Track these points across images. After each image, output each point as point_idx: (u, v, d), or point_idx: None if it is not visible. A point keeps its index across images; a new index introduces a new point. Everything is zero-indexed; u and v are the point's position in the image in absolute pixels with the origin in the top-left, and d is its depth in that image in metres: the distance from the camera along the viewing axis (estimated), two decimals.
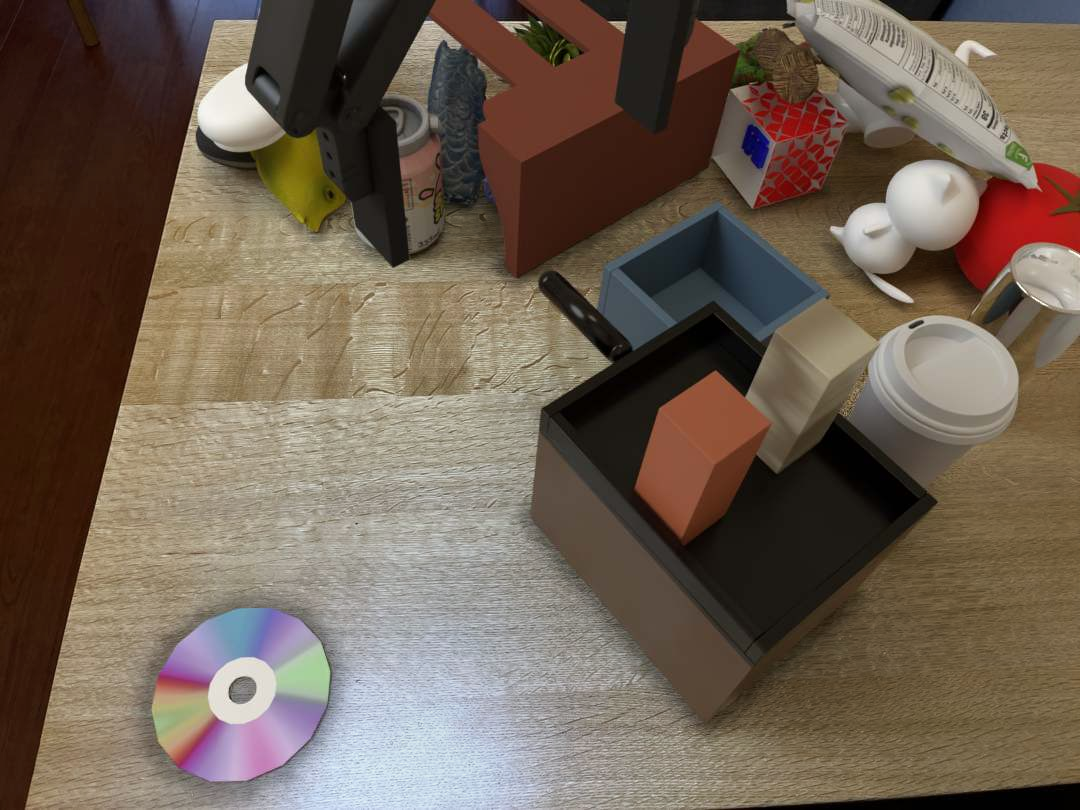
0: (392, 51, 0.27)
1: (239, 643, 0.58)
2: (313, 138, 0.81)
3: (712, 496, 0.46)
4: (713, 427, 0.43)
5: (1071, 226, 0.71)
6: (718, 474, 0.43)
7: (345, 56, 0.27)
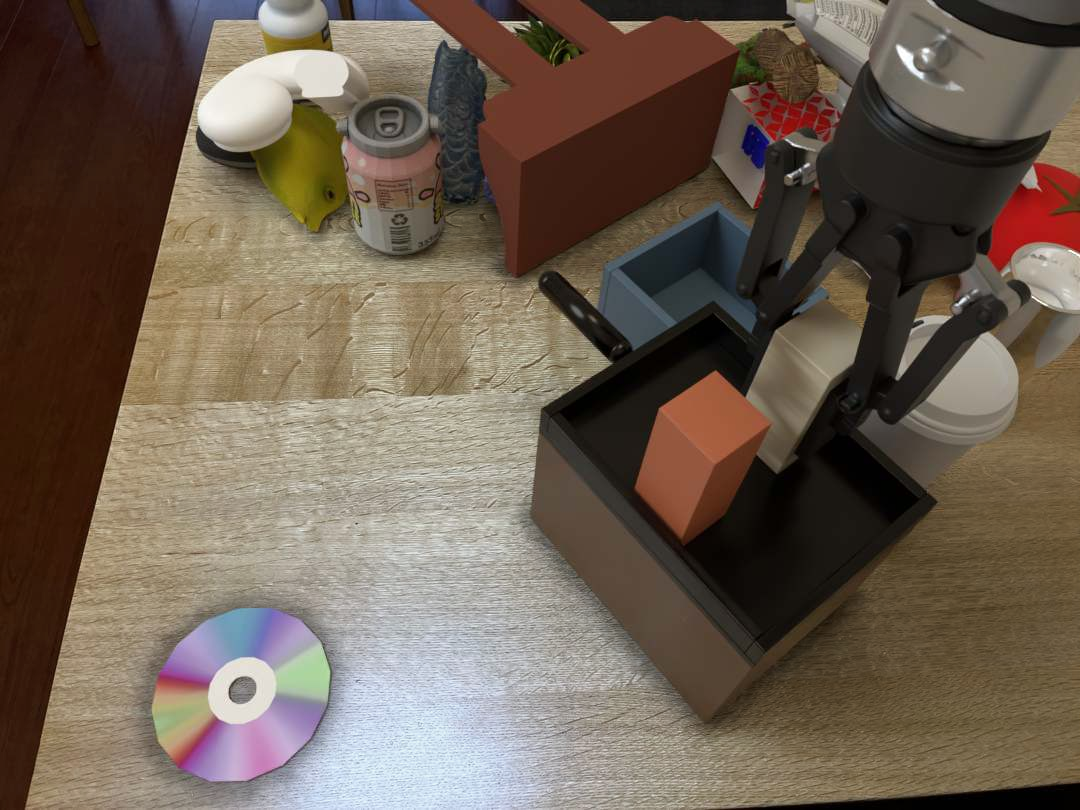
0: None
1: (239, 643, 0.58)
2: (313, 138, 0.81)
3: (712, 496, 0.46)
4: (713, 427, 0.43)
5: (1071, 226, 0.71)
6: (718, 474, 0.43)
7: (888, 372, 0.45)
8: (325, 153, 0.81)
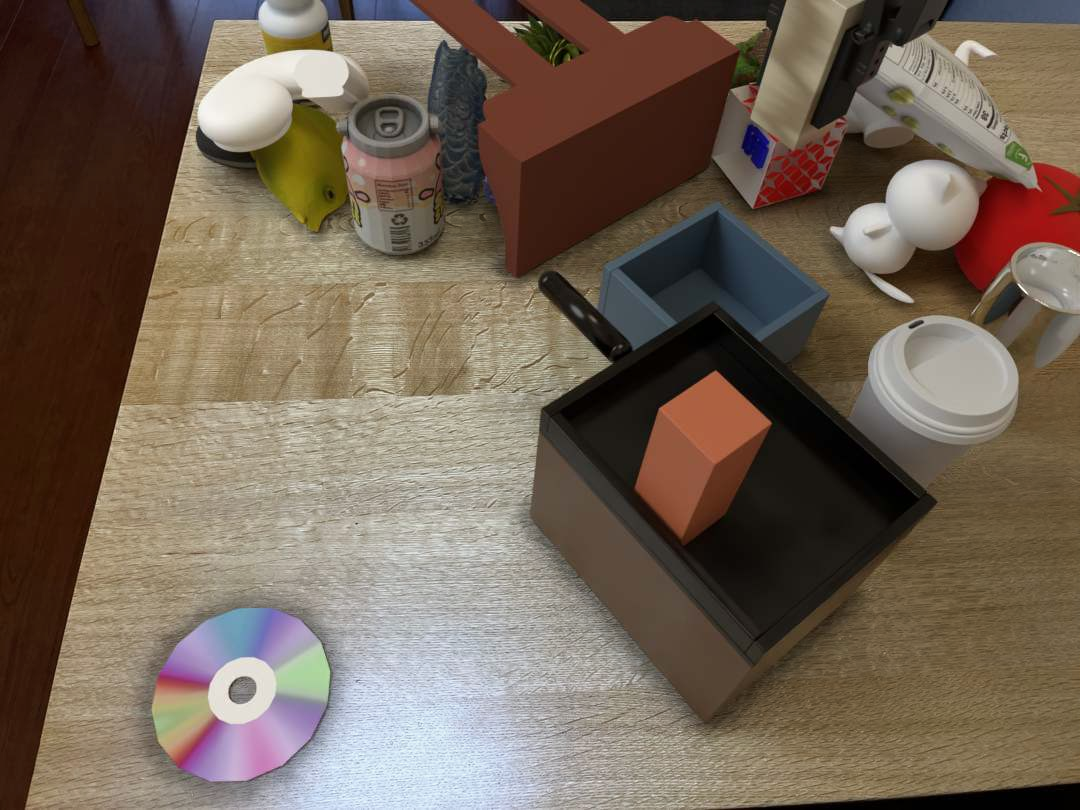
0: None
1: (239, 643, 0.58)
2: (313, 138, 0.81)
3: (712, 496, 0.46)
4: (713, 427, 0.43)
5: (1071, 226, 0.71)
6: (718, 474, 0.43)
7: (899, 0, 0.48)
8: (325, 153, 0.81)
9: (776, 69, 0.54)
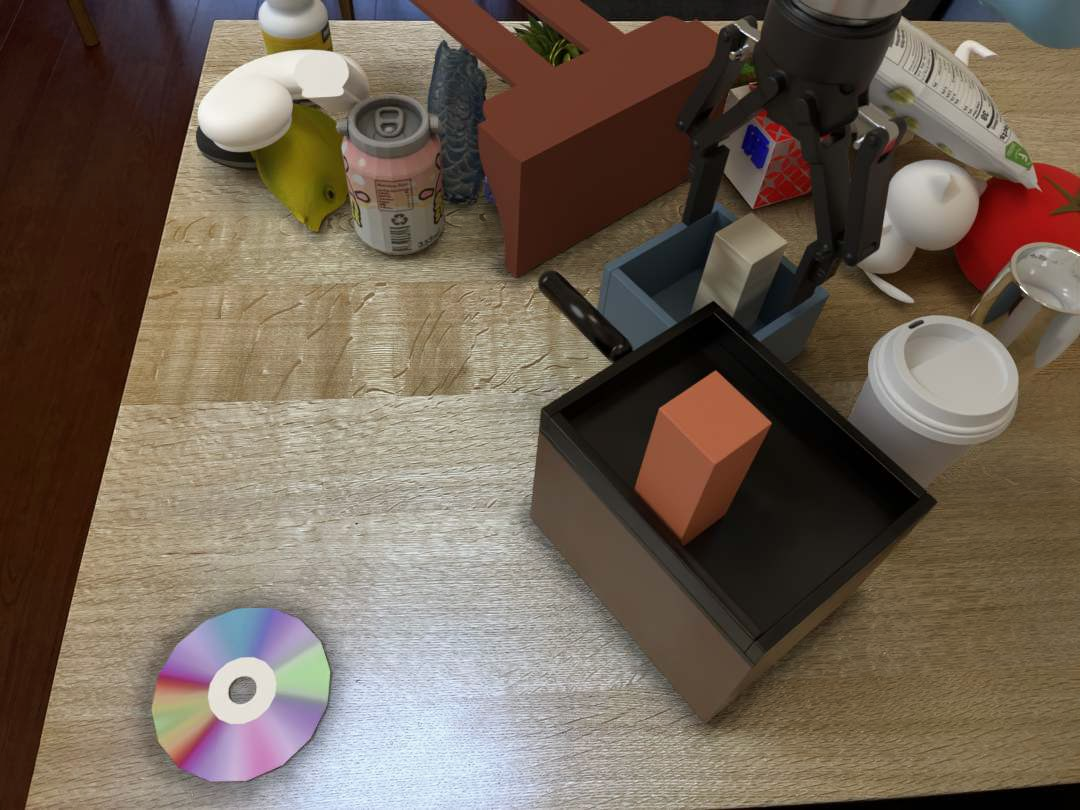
0: None
1: (239, 643, 0.58)
2: (313, 138, 0.81)
3: (712, 496, 0.46)
4: (713, 427, 0.43)
5: (1071, 226, 0.71)
6: (718, 474, 0.43)
7: (844, 223, 0.59)
8: (325, 153, 0.81)
9: (706, 289, 0.71)
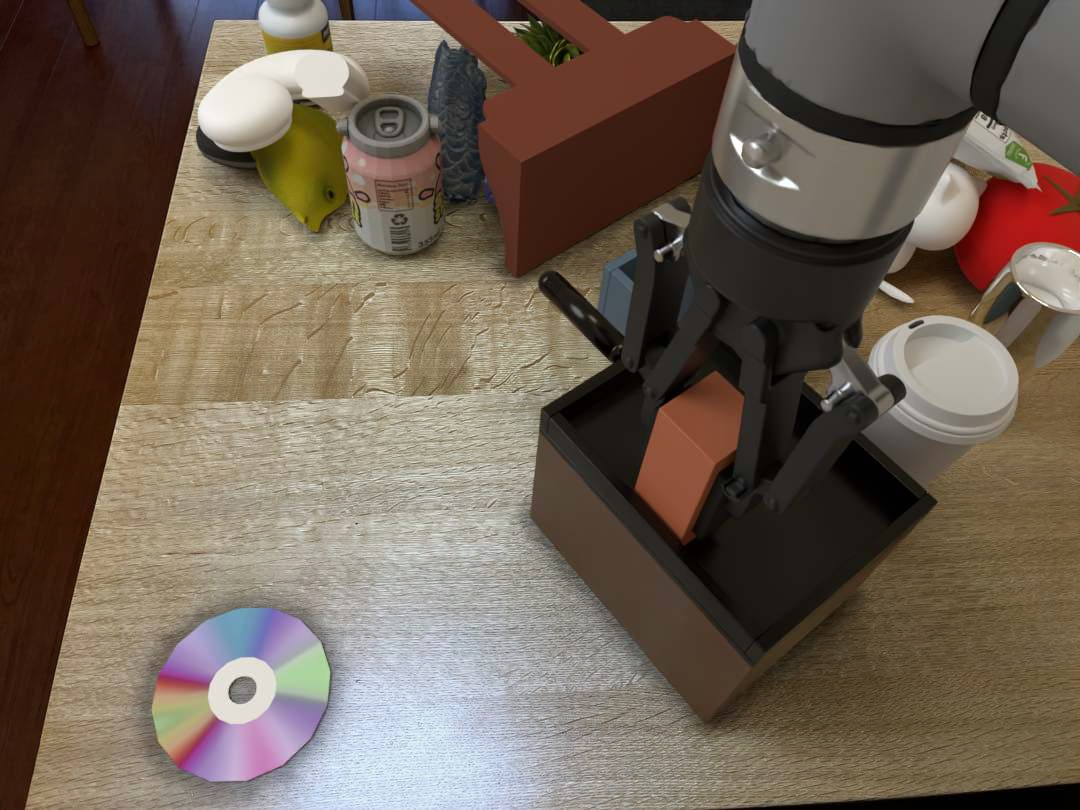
0: None
1: (239, 643, 0.58)
2: (313, 138, 0.81)
3: None
4: (713, 427, 0.43)
5: (1071, 226, 0.71)
6: None
7: (775, 457, 0.41)
8: (325, 153, 0.81)
9: None
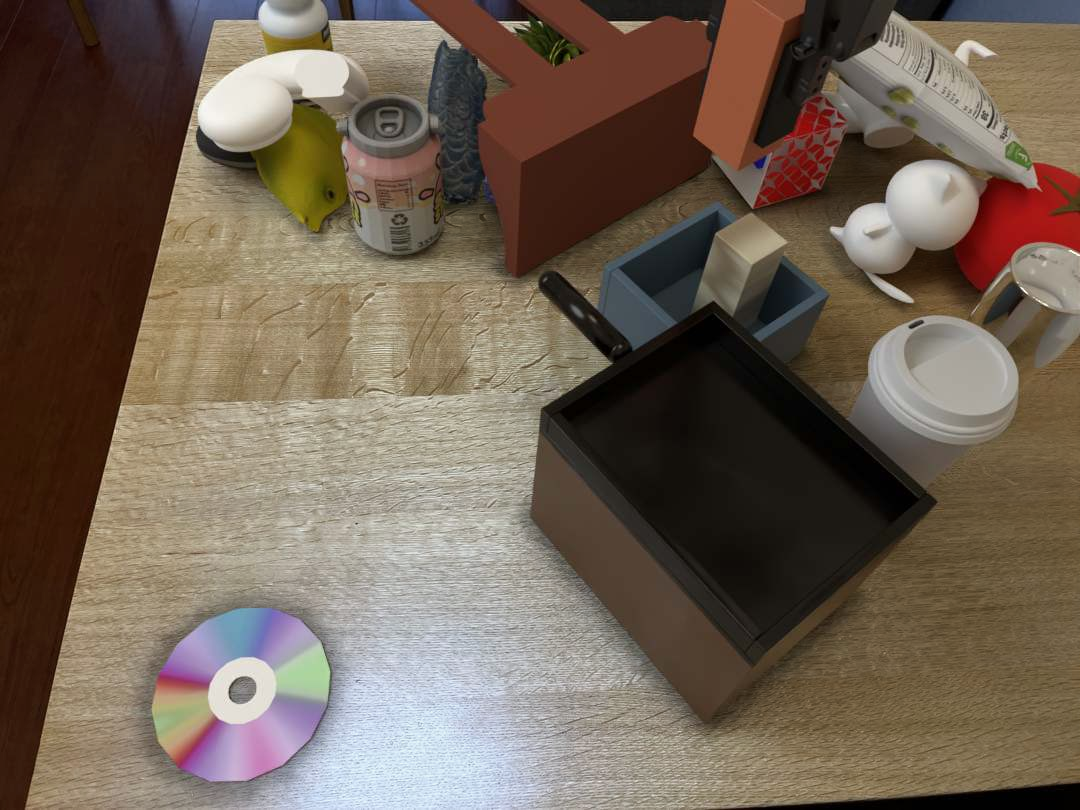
0: None
1: (239, 643, 0.58)
2: (313, 138, 0.81)
3: None
4: None
5: (1071, 226, 0.71)
6: None
7: (840, 12, 0.45)
8: (325, 153, 0.81)
9: (706, 289, 0.71)
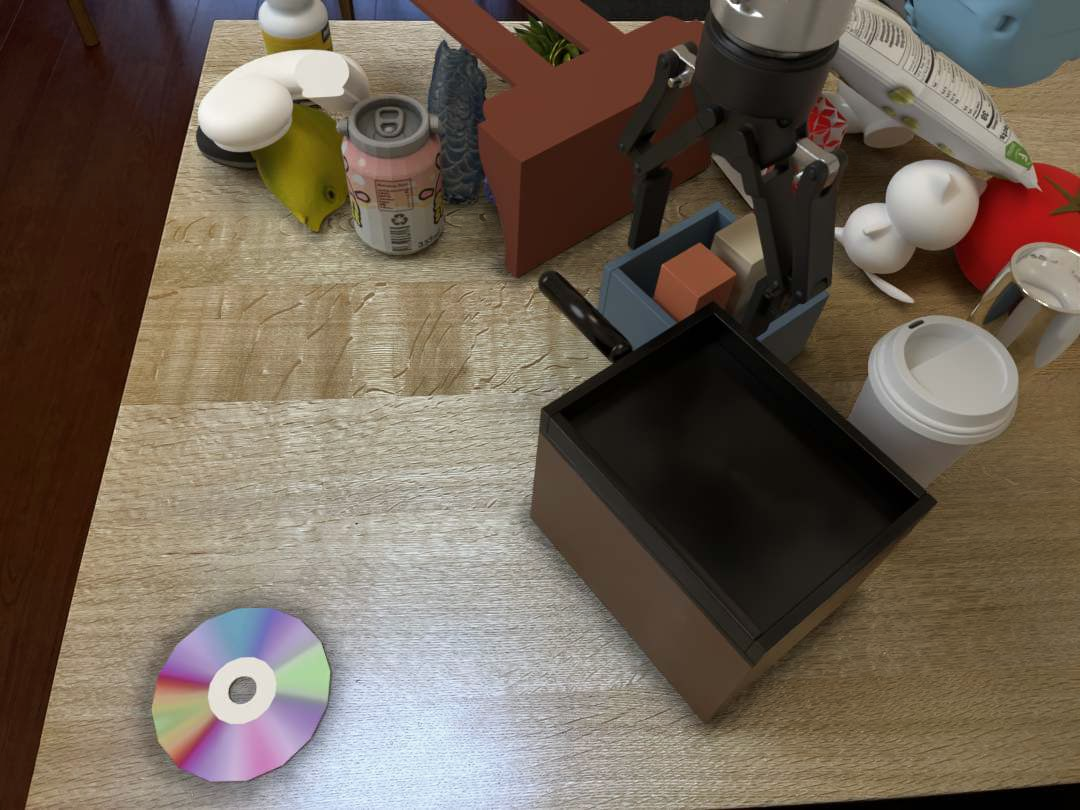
0: None
1: (239, 643, 0.58)
2: (313, 138, 0.81)
3: None
4: (698, 276, 0.64)
5: (1071, 226, 0.71)
6: None
7: None
8: (325, 153, 0.81)
9: None
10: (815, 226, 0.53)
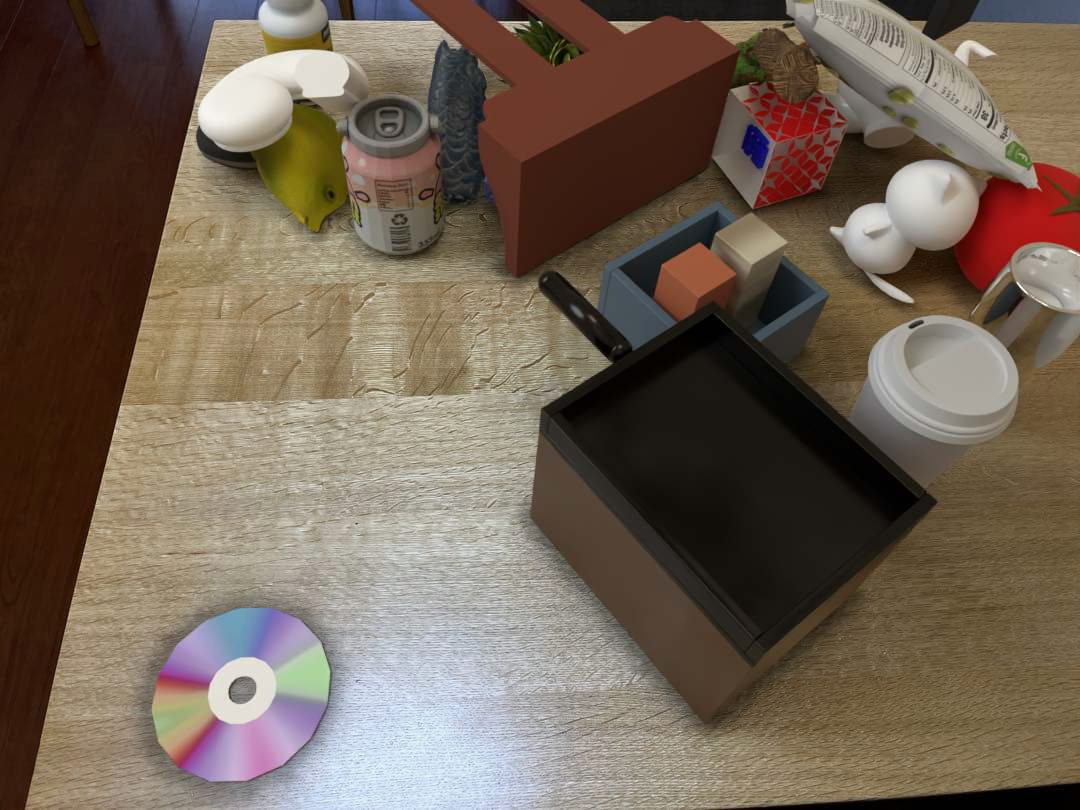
0: None
1: (239, 643, 0.58)
2: (313, 138, 0.81)
3: None
4: (698, 276, 0.64)
5: (1071, 226, 0.71)
6: None
7: None
8: (325, 153, 0.81)
9: None
10: None
